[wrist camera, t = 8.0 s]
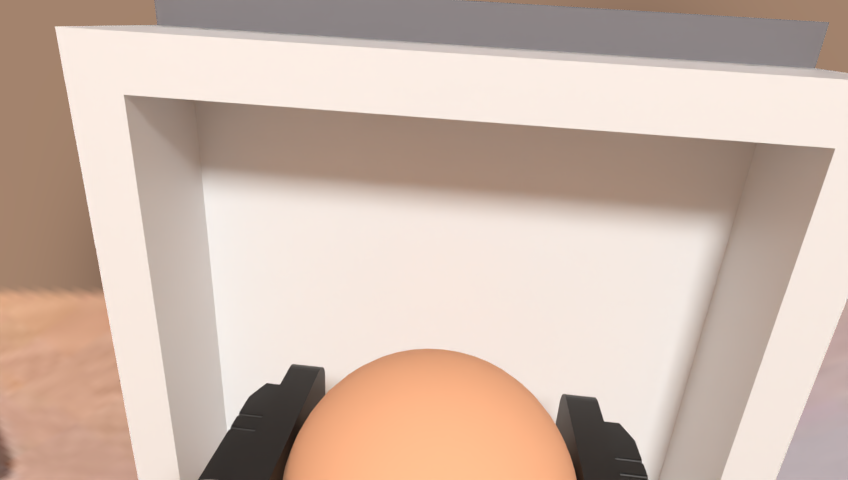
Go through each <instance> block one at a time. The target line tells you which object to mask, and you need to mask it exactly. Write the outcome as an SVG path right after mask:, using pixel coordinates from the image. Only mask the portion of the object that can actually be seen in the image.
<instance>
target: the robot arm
mask: <svg viewBox="0 0 848 480" xmlns="http://www.w3.org/2000/svg"><path fill="white" fill-rule="evenodd" d="M324 396H325V370H324V368H323V367H317V366H308V365H299V364H292V365H291V366H290V367H289V369H288V371H287V373H286V375H285V376H284V378H283V380H282V382H281V384H280V385H279V384H270V383H266V384H265V385H263V386H262V387H261V388H259V389H258V390H257V391H256V392H254V393H253V394H252V395H250V396H249V397H248V399H247V401H246V402H245V404H244V406H243V407H242V409H241V410H240V412H239V416H237V417H236V419H235V420H234V422H233V423H232V425H231V429H230V430H228V432H227V433H226V435H225V437H224V438H223V440H222V441H221V443H220V445H219V446H218V448H217V450H216V451H215V453H214V454H213V456H212V458H211V459H210V461H209V463H208V464H207V466H206V467H205V469H204V471H203V472H202V474H201V476H200V477H199V479H198V480H283V475H284V470H285V466H286V463H287V460H288V457H289V454H290V451H291V449H292V446H293V444H294V441H295V439H296V437H297V435H298V433H299V431H300V429H301V428H302V426H303V424H304V422H305V421H306V419H307V418H308V416H309V414H310V413H311V411H312V410H313V409H314V408H315V406H316V405H317V404H318V403H319V402H320V400H321V399H322V398H323V397H324ZM556 426H557V428H558V429H559V431H560V433H561V435H562V437H563V439H564V441H565V444H566V446H567V449H568V451H569V454H570V456H571V459H572V463H573V466H574V469H575V474H576V478H577V480H648V475H647V472H646V470H645V467H644V464H642V459H641V456H640V453H639V450H638V448H637V445H636V442H635V440H634V439H633V438H632V437H631V436H630V434H629V433H628V432H627V431H626V430H625V429H624V428H623V427H622V425H621V424H620V423H614V422H605V421H604V420H603V416H602V413H601V410H600V406H599V403H598V400H597V399H596V398H595V397H587V396H578V395H569V394H562V396H561V399H560V403H559V408H558V414H557V419H556Z"/></svg>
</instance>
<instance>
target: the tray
mask: <svg viewBox="0 0 848 480" xmlns="http://www.w3.org/2000/svg"><path fill="white" fill-rule="evenodd" d="M55 29H56V34H57V40H58V45H59V51H60V56H61V61H62V67H63V73H64V78H65V83H66V89H67V94H68V100H69V105H70V111H71V115H72V121H73V127H74V132H75V137H76V143H77V149H78V154H79V160H80V165H81V170H82V176H83V181H84V186H85V192H86V198H87V203H88V208H89V214H90V219H91V224H92V230H93V236H94V241H95V247H96V251H97V257H98V263H99V268H100V273H101V279H102V284H103V290H104V295H105V301H106V306H107V312H108V317H109V323H110V328H111V333H112V339H113V344H114V350H115V355H116V361H117V366H118V372H119V377H120V382H121V388H122V393H123V399H124V404H125V410H126V415H127V420H128V426H129V431H130V437H131V442H132V448H133V453H134V459H135V464H136V469H137V475H138V480H198V479H199V477H200V476H201V474H202V472H203V471H204V469H205V467H206V466H207V464H208V463H209V461H210V459H211V458H212V456H213V454H214V453H215V451H216V450H217V448H218V446H219V445H220V443H221V441H222V440H223V438H224V437H225V435H226V433H227V432H228V430H230V429H231V425H232V423H233V422H234V420H235V419H236V417H237V416H239V412H240V410H241V409H242V407H243V406H244V404H245V402H246V401H247V399H248V397H249V396H250V395H252V394H253V393H254V392H256V391H257V390H258V389H259V388H261V387H262V386H263V385H265V384H266V383H270V384H279V385H280V384H281V382H282V380H283V378H284V376H285V375H286V373H287V371H288V369H289V367H290V366H291V365H292V364H299V365H308V366H317V367H323V368H324V370H325V395H326V394H327V392H328V391H329V390H330V389H332V388H333V387H334V386H335V385H336V384H338V383H339V382H340V381H341V380H342V379H344V378H345V377H346V376H347V375H348V374H350V373H352V372H353V371H355V370H356V369H358V368H360V367H361V366H363V365H365V364H367V363H370V362H372V361H374V360H376V359H378V358H381V357H383V356H386V355H390V354H393V353H396V352H401V351H407V350H413V349H444V350H450V351H456V352H461V353H465V354H468V355H472V356H475V357H477V358H480V359H482V360H485V361H487V362H490V363H491V364H493V365H495V366H497V367H499V368H501V369H502V370H504V371H505V372H507V373H508V374H509V375H511V376H512V377H514V378H515V379H516V380H518V381H519V382H520V383H521V384H523V385H524V386H525V387H526V388H527V389H528V390H529V391H530V392H531V393H532V394H533V395H534V396H535V397H536V398H537V400H538V401H539V402H540V403H541V405H542V406H543V407H544V408H545V410H546V411H547V412H548V413H549V415H550V416H551V418H552V419H553V421H554V423H555V424H556V419H557V414H558V408H559V403H560V399H561V396H562V394H569V395H578V396H587V397H595V398H596V399H597V400H598V403H599V406H600V410H601V413H602V416H603V420H604V421H605V422H614V423H620V424H621V425H622V427H623V428H624V429H625V430H626V431H627V432H628V433H629V434H630V436H631V437H632V438H633V439H634V440H635V442H636V445H637V448H638V450H639V453H640V456H641V459H642V464H644V467H645V470H646V472H647V475H648V480H776V477H777V475H778V472H779V470H780V467H781V465H782V462H783V460H784V457H785V455H786V452H787V449H788V447H789V444H790V442H791V439H792V437H793V434H794V432H795V429H796V427H797V424H798V422H799V419H800V417H801V414H802V412H803V409H804V407H805V404H806V402H807V399H808V397H809V394H810V391H811V389H812V386H813V384H814V381H815V379H816V376H817V374H818V371H819V369H820V366H821V364H822V361H823V359H824V356H825V354H826V351H827V349H828V346H829V344H830V341H831V339H832V336H833V333H834V331H835V328H836V326H837V323H838V321H839V318H840V316H841V313H842V311H843V308H844V306H845V303H846V301H847V298H848V73H843V72H836V71H829V70H822V69H815V68H801V67H786V66H770V65H755V64H740V63H725V62H710V61H695V60H679V59H664V58H649V57H634V56H619V55H604V54H588V53H573V52H558V51H543V50H528V49H513V48H497V47H482V46H467V45H452V44H437V43H422V42H406V41H391V40H376V39H361V38H346V37H330V36H315V35H300V34H285V33H270V32H255V31H239V30H224V29H209V28H194V27H179V26H164V25H132V26H61V27H55Z"/></svg>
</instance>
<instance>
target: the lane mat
mask: <svg viewBox="0 0 848 480" xmlns="http://www.w3.org/2000/svg"><path fill="white" fill-rule="evenodd" d="M155 8H156V17H157V25H164V26H179V27H194V28H209V29H224V30H239V31H255V32H270V33H285V34H300V35H315V36H330V37H346V38H361V39H376V40H391V41H406V42H422V43H437V44H452V45H467V46H482V47H497V48H513V49H528V50H543V51H558V52H573V53H588V54H604V55H619V56H634V57H649V58H664V59H679V60H695V61H710V62H725V63H740V64H755V65H770V66H786V67H801V68H815V66H816V63H817V59H818V56H819V53H820V50H821V47H822V44H823V40H824V37H825V34H826V31H827V28H828V25H829V22H814V21H797V20H781V19H764V18H747V17H731V16H714V15H698V14H681V13H665V12H647V11H630V10H615V9H598V8H581V7H565V6H548V5H532V4H515V3H498V2H482V1H465V0H155Z"/></svg>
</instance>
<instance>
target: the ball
mask: <svg viewBox="0 0 848 480" xmlns="http://www.w3.org/2000/svg"><path fill="white" fill-rule="evenodd" d="M283 480H577V478H576V474H575V469H574V466H573V463H572V459H571V456H570V454H569V451H568V449H567V446H566V444H565V441H564V439H563V437H562V435H561V433H560V431H559V429H558V428H557V426H556V424H555V423H554V421H553V419H552V418H551V416H550V415H549V413H548V412H547V411H546V410H545V408H544V407H543V406H542V405H541V403H540V402H539V401H538V400H537V398H536V397H535V396H534V395H533V394H532V393H531V392H530V391H529V390H528V389H527V388H526V387H525V386H524V385H523V384H521V383H520V382H519V381H518V380H516V379H515V378H514V377H512V376H511V375H509V374H508V373H507V372H505V371H504V370H502V369H501V368H499V367H497V366H495V365H493V364H491V363H490V362H487V361H485V360H482V359H480V358H477V357H475V356H472V355H468V354H465V353H461V352H456V351H450V350H444V349H413V350H407V351H401V352H396V353H393V354H390V355H386V356H383V357H381V358H378V359H376V360H374V361H372V362H370V363H367V364H365V365H363V366H361V367H360V368H358V369H356V370H355V371H353V372H352V373H350V374H348V375H347V376H346V377H345V378H344V379H342V380H341V381H340V382H339V383H338V384H336V385H335V386H334V387H333V388H332V389H330V390H329V391H328V392H327V394H326V395H325V396H324V397H323V398H322V399H321V400H320V402H319V403H318V404H317V405H316V406H315V408H314V409H313V410H312V411H311V413H310V414H309V416H308V418H307V419H306V421H305V422H304V424H303V426H302V428H301V429H300V431H299V433H298V435H297V437H296V439H295V441H294V444H293V446H292V449H291V451H290V454H289V457H288V460H287V463H286V466H285V470H284V475H283Z"/></svg>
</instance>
